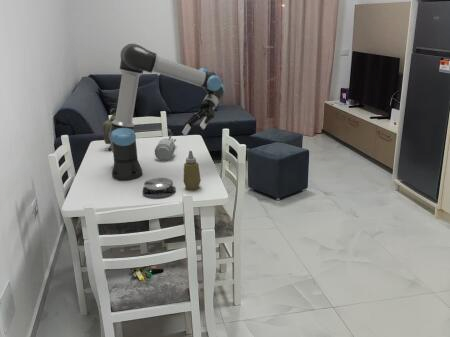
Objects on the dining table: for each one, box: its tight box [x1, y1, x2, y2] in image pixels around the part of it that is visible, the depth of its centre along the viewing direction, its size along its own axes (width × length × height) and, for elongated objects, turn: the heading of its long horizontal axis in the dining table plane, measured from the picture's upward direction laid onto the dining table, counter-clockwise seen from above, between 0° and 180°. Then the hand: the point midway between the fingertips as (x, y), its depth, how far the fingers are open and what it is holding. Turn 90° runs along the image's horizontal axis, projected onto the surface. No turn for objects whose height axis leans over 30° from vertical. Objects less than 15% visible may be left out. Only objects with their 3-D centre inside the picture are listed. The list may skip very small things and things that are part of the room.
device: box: [154, 134, 177, 162], centre depth 253 cm, size 31×10×10 cm, turn 179°
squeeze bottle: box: [183, 150, 202, 191], centre depth 199 cm, size 8×8×18 cm
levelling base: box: [142, 177, 176, 200], centre depth 197 cm, size 15×15×4 cm
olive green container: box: [102, 107, 117, 151], centre depth 263 cm, size 14×9×25 cm, turn 162°
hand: (192, 130), depth 218 cm, fingers open, 13 cm apart
